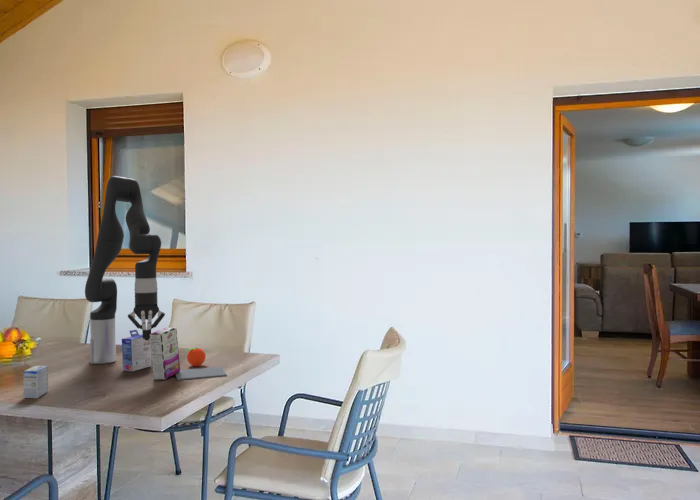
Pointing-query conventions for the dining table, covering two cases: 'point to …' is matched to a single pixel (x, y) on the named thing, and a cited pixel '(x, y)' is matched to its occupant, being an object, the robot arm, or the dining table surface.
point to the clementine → (196, 356)
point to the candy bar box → (164, 353)
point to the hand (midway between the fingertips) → (146, 340)
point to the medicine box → (35, 381)
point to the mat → (200, 373)
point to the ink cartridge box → (135, 352)
